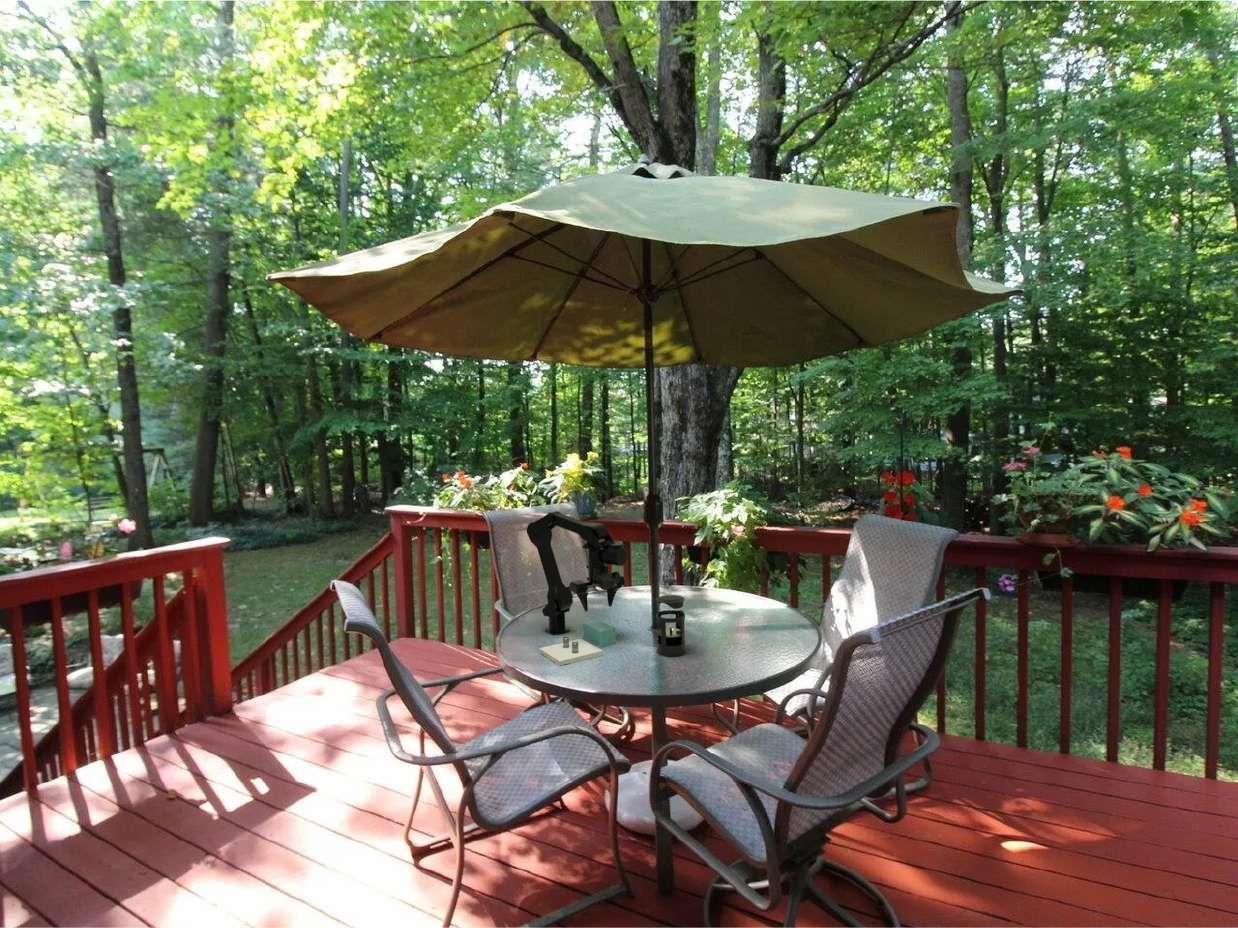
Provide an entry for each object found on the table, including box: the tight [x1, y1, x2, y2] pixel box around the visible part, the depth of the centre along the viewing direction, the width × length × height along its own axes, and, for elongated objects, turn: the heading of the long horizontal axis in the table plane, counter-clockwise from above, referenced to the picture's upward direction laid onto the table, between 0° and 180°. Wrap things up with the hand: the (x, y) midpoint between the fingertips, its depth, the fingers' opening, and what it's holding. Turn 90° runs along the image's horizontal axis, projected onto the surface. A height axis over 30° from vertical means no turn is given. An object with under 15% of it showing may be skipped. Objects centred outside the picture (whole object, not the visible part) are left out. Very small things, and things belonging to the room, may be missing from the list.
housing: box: [582, 619, 617, 648], centre depth 221 cm, size 6×12×5 cm, turn 32°
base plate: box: [539, 638, 604, 666], centre depth 208 cm, size 14×15×2 cm
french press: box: [655, 578, 688, 658], centre depth 208 cm, size 12×9×23 cm
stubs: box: [562, 636, 579, 653], centre depth 208 cm, size 8×2×3 cm, turn 32°
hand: (598, 608), depth 220 cm, fingers open, 9 cm apart
